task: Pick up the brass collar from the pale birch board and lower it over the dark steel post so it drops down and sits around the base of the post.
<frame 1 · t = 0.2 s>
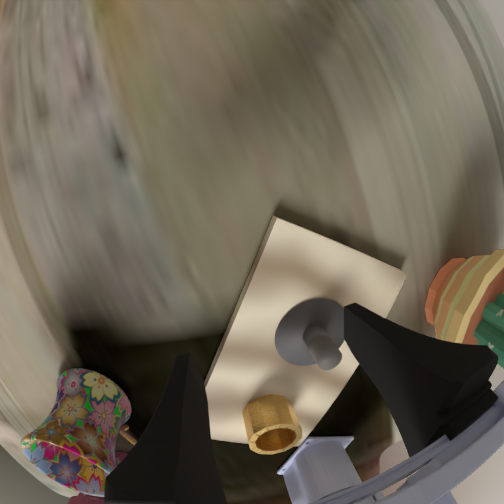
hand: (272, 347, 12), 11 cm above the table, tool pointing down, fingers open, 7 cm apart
mug: (107, 397, 24), on the table
potted cactus: (449, 292, 28), on the table
brass collar: (267, 411, 26), point 1 cm above the table, touching post board
plant pot: (129, 466, 28), on the table
post board: (289, 361, 26), on the table
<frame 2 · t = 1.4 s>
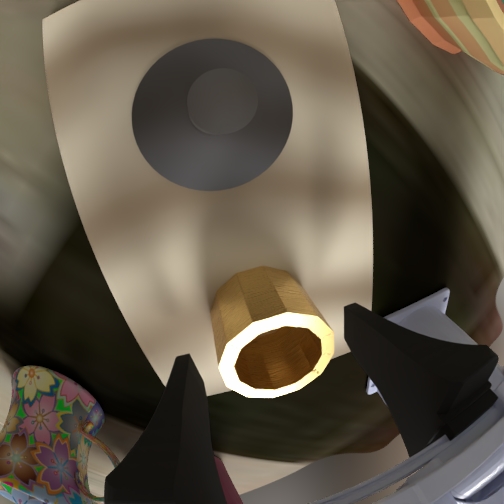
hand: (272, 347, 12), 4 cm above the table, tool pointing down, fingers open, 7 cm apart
mug: (71, 392, 17), on the table
potted cactus: (432, 1, 10), on the table
brass collar: (259, 309, 15), point 1 cm above the table, touching post board
plant pot: (181, 464, 23), on the table
post board: (229, 195, 13), on the table
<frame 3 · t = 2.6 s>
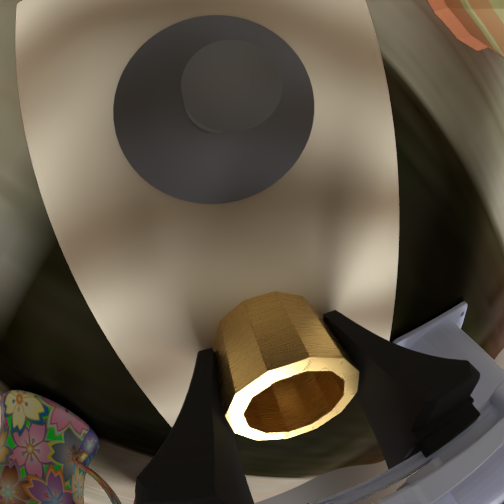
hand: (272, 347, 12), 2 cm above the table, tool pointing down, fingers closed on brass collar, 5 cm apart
mug: (62, 416, 14), on the table
brass collar: (269, 338, 13), point 1 cm above the table, touching gripper, post board
post board: (235, 207, 11), on the table
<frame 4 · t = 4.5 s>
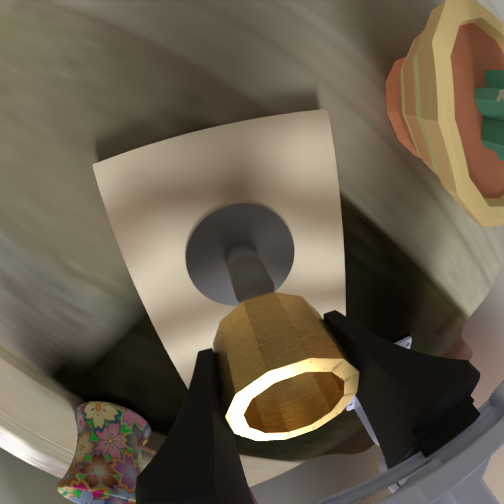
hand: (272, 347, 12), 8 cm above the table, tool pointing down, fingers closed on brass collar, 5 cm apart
mug: (123, 416, 24), on the table
potted cactus: (424, 106, 17), on the table
brass collar: (269, 339, 13), point 7 cm above the table, touching gripper
post board: (250, 299, 20), on the table
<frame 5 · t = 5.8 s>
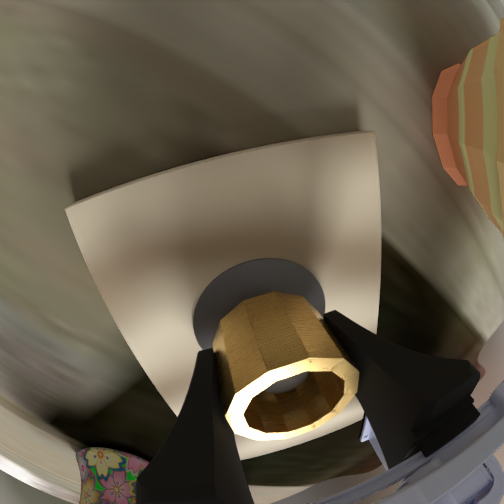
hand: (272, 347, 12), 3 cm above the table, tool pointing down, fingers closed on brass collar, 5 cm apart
mug: (127, 458, 20), on the table
potted cactus: (467, 125, 14), on the table
brass collar: (269, 339, 13), point 3 cm above the table, touching gripper
post board: (268, 356, 17), on the table
when the fingers open (3 cm above the table, at t = 6.7 s): brass collar drops 1 cm, resting on post board.
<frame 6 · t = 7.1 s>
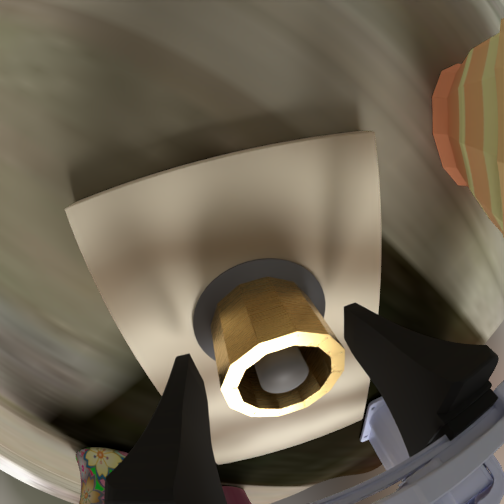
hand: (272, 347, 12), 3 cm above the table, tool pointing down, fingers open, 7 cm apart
mug: (127, 458, 20), on the table
potted cactus: (468, 125, 14), on the table
brass collar: (262, 322, 14), point 1 cm above the table, touching post board
plant pot: (210, 493, 27), on the table
post board: (268, 356, 17), on the table
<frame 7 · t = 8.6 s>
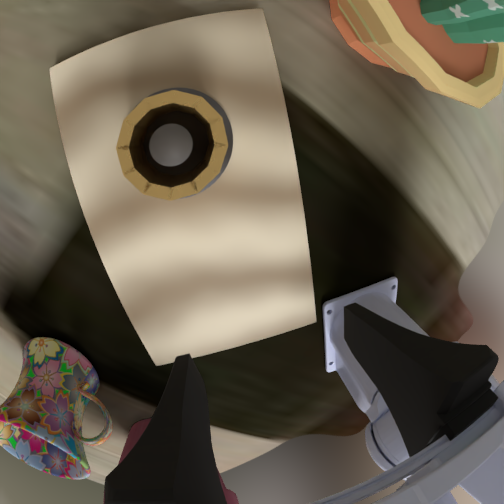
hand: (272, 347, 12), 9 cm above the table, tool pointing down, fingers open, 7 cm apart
mug: (72, 362, 21), on the table
potted cactus: (376, 20, 15), on the table
brass collar: (175, 143, 15), point 1 cm above the table, touching post board
plant pot: (166, 434, 28), on the table
post board: (191, 200, 18), on the table
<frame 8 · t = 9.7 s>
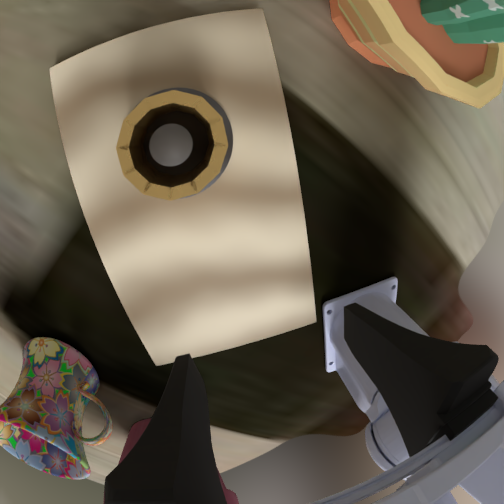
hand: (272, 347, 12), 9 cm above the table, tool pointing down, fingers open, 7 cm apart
mug: (72, 362, 21), on the table
potted cactus: (376, 20, 15), on the table
brass collar: (175, 143, 15), point 1 cm above the table, touching post board
plant pot: (166, 434, 28), on the table
post board: (191, 200, 18), on the table
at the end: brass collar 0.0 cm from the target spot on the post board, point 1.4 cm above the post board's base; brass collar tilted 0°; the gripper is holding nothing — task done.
